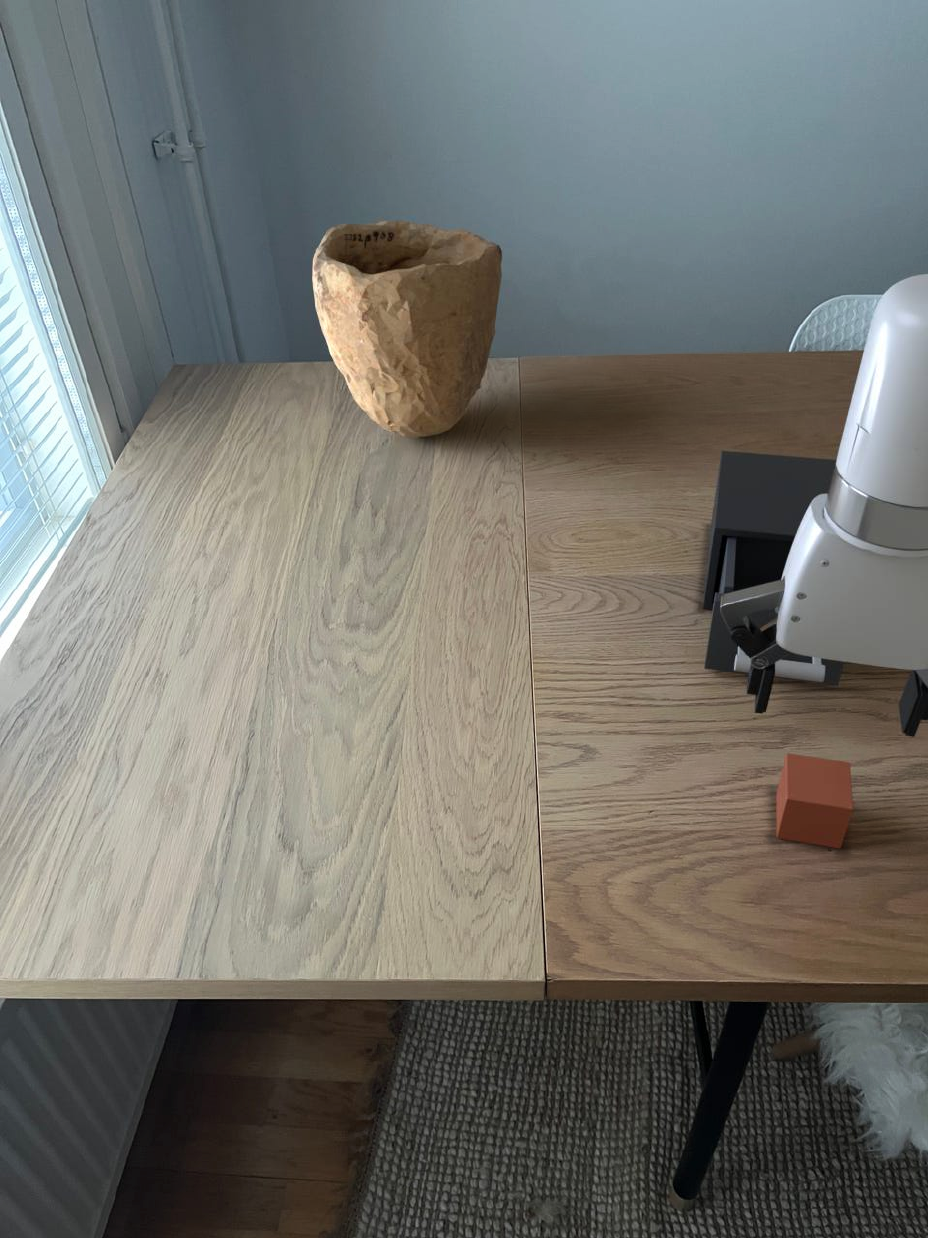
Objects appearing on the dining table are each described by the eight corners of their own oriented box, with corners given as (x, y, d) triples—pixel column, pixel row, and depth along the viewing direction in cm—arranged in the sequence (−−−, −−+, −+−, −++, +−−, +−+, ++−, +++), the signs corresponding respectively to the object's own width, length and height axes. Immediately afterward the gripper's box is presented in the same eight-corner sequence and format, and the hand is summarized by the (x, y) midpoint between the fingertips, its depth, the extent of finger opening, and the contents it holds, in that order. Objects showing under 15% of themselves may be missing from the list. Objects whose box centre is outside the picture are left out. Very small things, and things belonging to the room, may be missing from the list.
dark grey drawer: (840, 726, 79) (861, 655, 74) (700, 706, 82) (711, 637, 77) (831, 593, 93) (848, 527, 88) (712, 580, 95) (721, 515, 90)
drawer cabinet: (837, 624, 90) (859, 541, 84) (702, 609, 93) (714, 527, 87) (831, 539, 101) (850, 460, 95) (710, 527, 104) (721, 450, 98)
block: (837, 802, 74) (850, 762, 71) (840, 849, 71) (853, 809, 68) (776, 792, 75) (786, 752, 72) (776, 838, 72) (786, 798, 69)
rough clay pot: (542, 425, 124) (544, 227, 108) (424, 496, 112) (406, 285, 96) (420, 380, 136) (405, 196, 121) (300, 440, 124) (267, 244, 108)
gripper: (1047, 483, 56) (958, 693, 67) (744, 453, 59) (707, 657, 70) (1076, 556, 50) (974, 772, 61) (740, 518, 54) (701, 729, 65)
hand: (831, 710), depth 66 cm, fingers open, 9 cm apart
